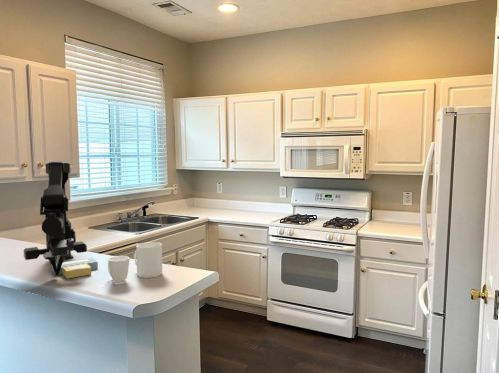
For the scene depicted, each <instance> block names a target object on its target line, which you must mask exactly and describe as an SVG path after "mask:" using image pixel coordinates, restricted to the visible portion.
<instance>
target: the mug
mask: <svg viewBox="0 0 499 373" xmlns="http://www.w3.org/2000/svg"><path fill="white" fill-rule="evenodd" d="M135 248H136V249H135V251H134V255H133V256H134V263H135V265H136V274H137V276H138V277H139V278H143V279H152V278H156V277H157V278H158V277H159V276H161V275H162V274H163V245H162V243H161V242H158V241H157V242H156V241H148V242H142V243H138V244H136V247H135Z"/></svg>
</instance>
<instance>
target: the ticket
mask: <svg viewBox="0 0 499 373" xmlns="http://www.w3.org/2000/svg"><path fill="white" fill-rule="evenodd" d="M81 264H88V265H89V266H90V267H91V271H92V270H97V269H99V262H98V261H97V260H95V259H94V258H93V257H89V258H81V259H76V260H75V259H74V260H68V261H63V263H62V266H61V269H60V272H59V275H58V276H62V275H63V267H68V266H75V265H81ZM56 266H57V262H56ZM51 268H52V267H51ZM52 272H53V273H54V274H55V272H54V270H53V268H52ZM61 274H62V275H61Z"/></svg>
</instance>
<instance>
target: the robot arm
mask: <svg viewBox="0 0 499 373" xmlns="http://www.w3.org/2000/svg"><path fill="white" fill-rule="evenodd" d="M71 170H72V169H71V164H70V163H69V162H67V161H50V162H48V163H45V174H46V175H48V176H47V177H48V184H47V188H45V189H44V190H43V192H42V196H40V207H39V215H40V216H45V217H44V220H43V221H42V223H41V230H42V232H43V233H44V234H45V243H46V244H45V245H46V246H45V248H40V249H39V248H38V247H37V246H34V247H26V248H24V249H23V258H24V259H25V261H29V260H35V259H36V260H37V259H38V258H39V257H40V256H42V257H43V258H44V259H45V260H48V261H49V263H50V265H51V268H53V270H54V272H55V273H54V272H53V273H54V274H55V276H60V275H59V272H60V269H61V266H62V263H63V262H65V261H64V260H66V259H73V258H74V256H73V254H72V251H75V252H76V253H77V254H78V253H79V254H81V253H86V252H88V246H87V244H86V243H84V241H82V240H81V241H77V240H76V239H77V237H76V231H75V230H74V227H72V222H71V221H70V220H69V218H68V214H67V212H69V198H68V196H67V195H66V194H67V193H66V183H67V182H68V180H69V178H70V175H71ZM56 263H57V266H56Z"/></svg>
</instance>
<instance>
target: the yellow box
mask: <svg viewBox="0 0 499 373" xmlns="http://www.w3.org/2000/svg"><path fill="white" fill-rule="evenodd" d="M62 275H63V276H64V278H65V279H72V278H78V277H79V278H80V277H83V276H90V275H92V270H91V267H90V266H89V265H88V264H81V265H75V266H68V267H63V274H62Z"/></svg>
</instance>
